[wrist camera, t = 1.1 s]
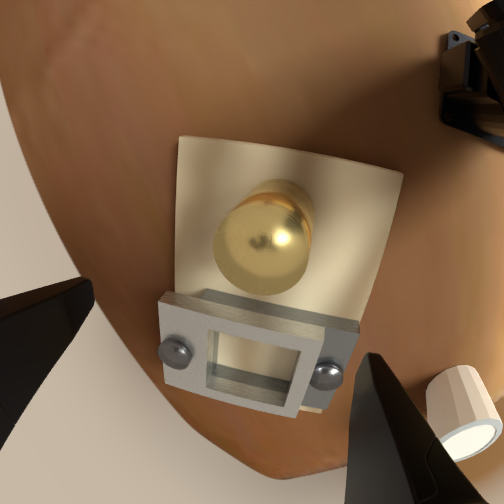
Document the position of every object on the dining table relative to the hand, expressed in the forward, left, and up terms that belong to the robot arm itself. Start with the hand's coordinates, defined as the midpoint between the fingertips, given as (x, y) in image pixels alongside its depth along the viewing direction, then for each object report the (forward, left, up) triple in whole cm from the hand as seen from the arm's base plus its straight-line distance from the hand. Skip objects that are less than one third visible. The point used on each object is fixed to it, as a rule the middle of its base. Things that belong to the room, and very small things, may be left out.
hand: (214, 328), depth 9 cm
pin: (0, 0, -12) cm, 12 cm away
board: (0, +7, -13) cm, 15 cm away
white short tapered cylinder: (-19, +13, -13) cm, 27 cm away
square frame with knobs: (0, +11, -13) cm, 17 cm away
